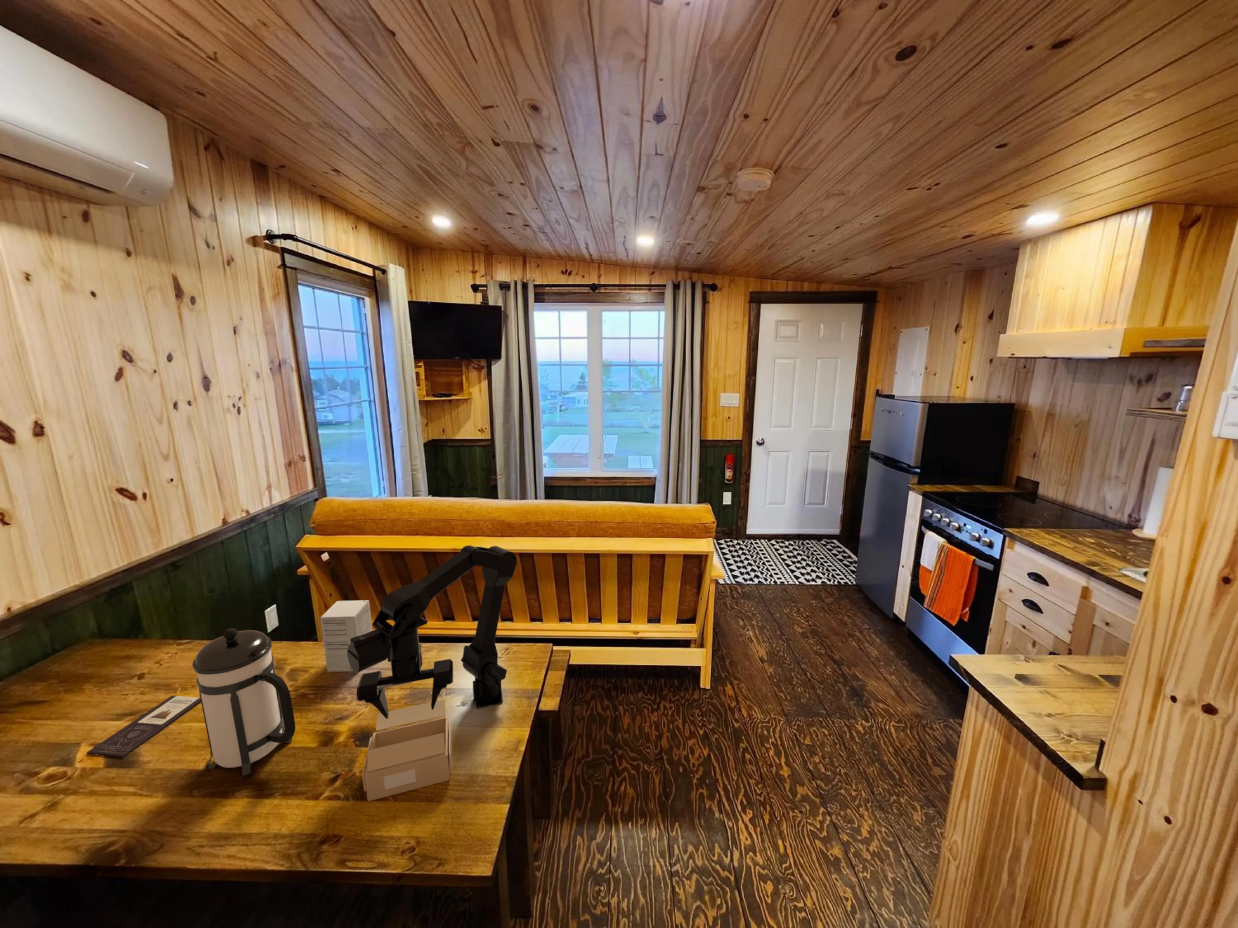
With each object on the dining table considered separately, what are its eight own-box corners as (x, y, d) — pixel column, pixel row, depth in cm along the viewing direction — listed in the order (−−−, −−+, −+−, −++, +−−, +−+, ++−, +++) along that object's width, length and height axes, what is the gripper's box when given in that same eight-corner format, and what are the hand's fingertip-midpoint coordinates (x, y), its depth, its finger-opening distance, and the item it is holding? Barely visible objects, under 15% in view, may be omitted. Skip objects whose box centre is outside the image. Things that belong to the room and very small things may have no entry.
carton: (452, 738, 107) (450, 715, 106) (452, 779, 96) (450, 754, 95) (373, 756, 102) (370, 733, 100) (364, 802, 91) (361, 776, 90)
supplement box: (343, 652, 139) (336, 599, 135) (375, 650, 139) (370, 598, 136) (326, 672, 129) (318, 617, 126) (361, 671, 130) (354, 615, 127)
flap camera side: (367, 771, 91) (367, 771, 90) (368, 750, 92) (367, 750, 92) (444, 752, 95) (444, 752, 95) (443, 732, 96) (443, 732, 96)
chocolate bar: (86, 752, 102) (171, 695, 119) (87, 755, 102) (172, 698, 119) (123, 755, 101) (204, 698, 118) (124, 759, 101) (204, 701, 119)
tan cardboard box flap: (445, 715, 105) (445, 715, 105) (445, 699, 108) (445, 699, 108) (376, 730, 101) (376, 730, 101) (377, 713, 103) (377, 714, 103)
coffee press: (194, 798, 91) (165, 661, 85) (217, 741, 105) (194, 620, 99) (300, 765, 99) (281, 637, 93) (309, 716, 113) (292, 602, 107)
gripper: (451, 623, 111) (455, 681, 114) (363, 636, 105) (369, 697, 108) (450, 649, 100) (454, 712, 103) (352, 665, 95) (360, 732, 98)
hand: (410, 712), depth 103 cm, fingers open, 9 cm apart
